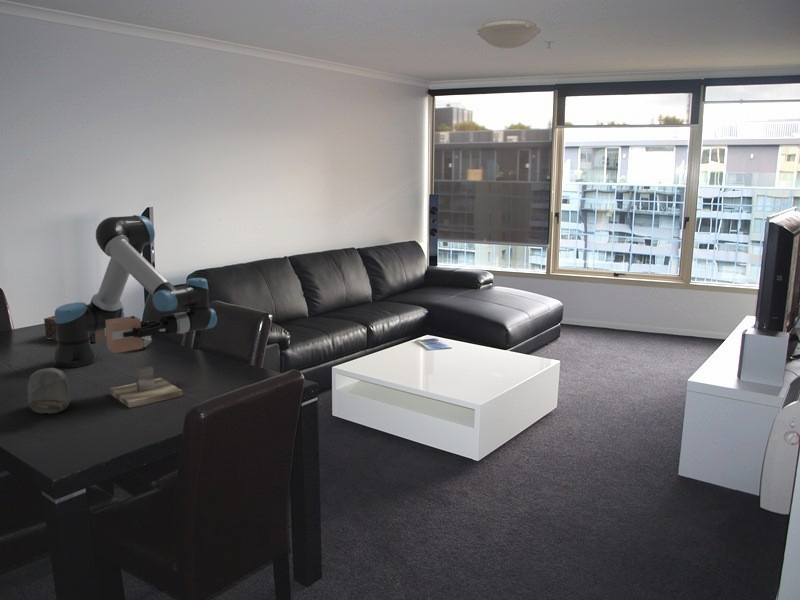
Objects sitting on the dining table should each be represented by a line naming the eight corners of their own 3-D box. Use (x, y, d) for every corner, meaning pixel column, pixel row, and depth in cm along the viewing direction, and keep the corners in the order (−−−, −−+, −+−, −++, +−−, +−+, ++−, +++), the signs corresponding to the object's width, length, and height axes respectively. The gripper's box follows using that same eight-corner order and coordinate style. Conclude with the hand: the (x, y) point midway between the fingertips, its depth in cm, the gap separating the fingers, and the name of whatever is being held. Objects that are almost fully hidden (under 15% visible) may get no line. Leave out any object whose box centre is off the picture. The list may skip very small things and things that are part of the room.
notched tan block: (107, 349, 227) (105, 318, 225) (135, 344, 233) (132, 314, 231) (114, 353, 222) (112, 321, 220) (142, 348, 228) (140, 317, 226)
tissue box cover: (46, 340, 297) (44, 318, 295) (68, 332, 311) (66, 312, 309) (96, 343, 291) (94, 322, 290) (116, 336, 305) (114, 315, 303)
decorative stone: (72, 398, 222) (68, 355, 219) (72, 415, 206) (67, 369, 203) (32, 403, 216) (27, 359, 213) (28, 421, 201) (23, 374, 198)
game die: (148, 356, 286) (161, 338, 284) (132, 353, 278) (145, 335, 277) (140, 342, 290) (152, 325, 288) (123, 340, 283) (136, 322, 281)
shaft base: (110, 393, 226) (107, 367, 224) (161, 383, 238) (159, 357, 236) (129, 408, 213) (127, 380, 211) (182, 395, 225) (180, 369, 223)
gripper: (186, 338, 232) (120, 350, 217) (163, 329, 246) (100, 339, 231) (185, 318, 230) (118, 328, 215) (162, 309, 245) (98, 318, 230)
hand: (108, 333), depth 223 cm, fingers closed on notched tan block, 7 cm apart
